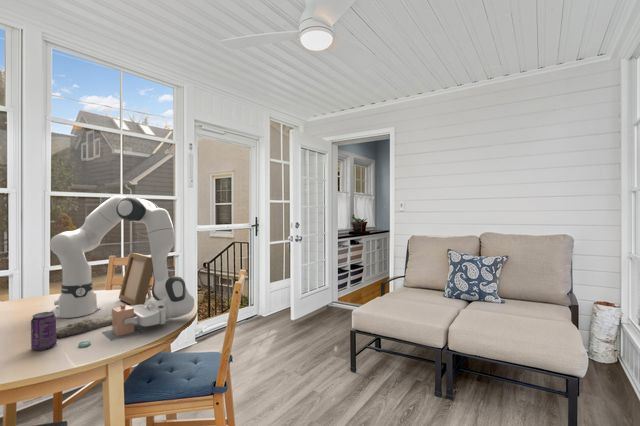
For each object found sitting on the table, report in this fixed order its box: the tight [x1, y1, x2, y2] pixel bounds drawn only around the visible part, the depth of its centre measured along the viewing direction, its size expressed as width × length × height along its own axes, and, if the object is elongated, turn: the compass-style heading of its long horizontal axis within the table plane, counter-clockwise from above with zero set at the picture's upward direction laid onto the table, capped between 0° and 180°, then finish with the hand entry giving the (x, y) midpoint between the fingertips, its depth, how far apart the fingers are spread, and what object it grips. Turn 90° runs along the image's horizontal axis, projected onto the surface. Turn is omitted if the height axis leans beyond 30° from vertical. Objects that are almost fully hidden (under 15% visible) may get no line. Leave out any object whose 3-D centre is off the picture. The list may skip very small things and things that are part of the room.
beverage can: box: [30, 311, 57, 351], centre depth 124 cm, size 7×7×12 cm
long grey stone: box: [56, 314, 112, 340], centre depth 144 cm, size 35×5×10 cm
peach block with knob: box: [111, 304, 135, 336], centre depth 137 cm, size 6×6×11 cm
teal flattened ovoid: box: [78, 340, 92, 348], centre depth 124 cm, size 4×4×2 cm
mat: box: [101, 324, 145, 342], centre depth 138 cm, size 12×12×1 cm
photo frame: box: [118, 252, 153, 306], centre depth 182 cm, size 15×22×25 cm
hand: (120, 319), depth 137 cm, fingers closed on peach block with knob, 6 cm apart
